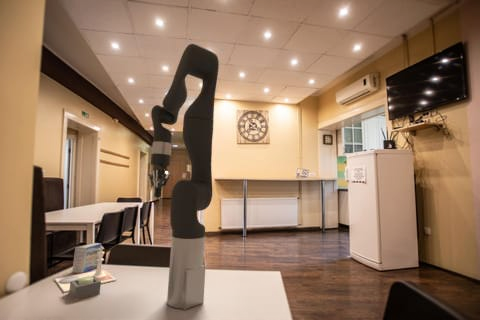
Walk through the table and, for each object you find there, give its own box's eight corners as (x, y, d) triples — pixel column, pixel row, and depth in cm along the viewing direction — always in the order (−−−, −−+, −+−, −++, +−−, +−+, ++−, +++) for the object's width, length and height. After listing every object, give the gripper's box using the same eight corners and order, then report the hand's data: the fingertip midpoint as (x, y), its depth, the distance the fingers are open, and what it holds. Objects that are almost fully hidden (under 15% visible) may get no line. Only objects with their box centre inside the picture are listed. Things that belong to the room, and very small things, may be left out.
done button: (94, 288, 66) (95, 279, 66) (79, 291, 64) (80, 282, 64) (90, 284, 69) (91, 275, 69) (75, 287, 66) (77, 278, 66)
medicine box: (82, 273, 81) (85, 248, 82) (71, 272, 81) (74, 247, 83) (99, 266, 88) (102, 243, 90) (89, 265, 89) (92, 242, 90)
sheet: (116, 280, 76) (116, 278, 76) (63, 292, 66) (64, 290, 66) (102, 270, 84) (103, 269, 85) (54, 280, 74) (54, 278, 74)
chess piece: (85, 278, 75) (89, 246, 77) (101, 274, 79) (104, 243, 81) (94, 281, 73) (98, 248, 74) (109, 277, 77) (113, 245, 79)
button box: (99, 293, 66) (100, 281, 66) (74, 300, 62) (76, 287, 62) (93, 287, 70) (94, 276, 70) (69, 292, 66) (70, 281, 66)
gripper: (178, 154, 92) (175, 198, 90) (161, 156, 101) (157, 196, 99) (161, 151, 87) (157, 198, 84) (144, 154, 96) (140, 196, 93)
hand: (157, 197), depth 92 cm, fingers closed
